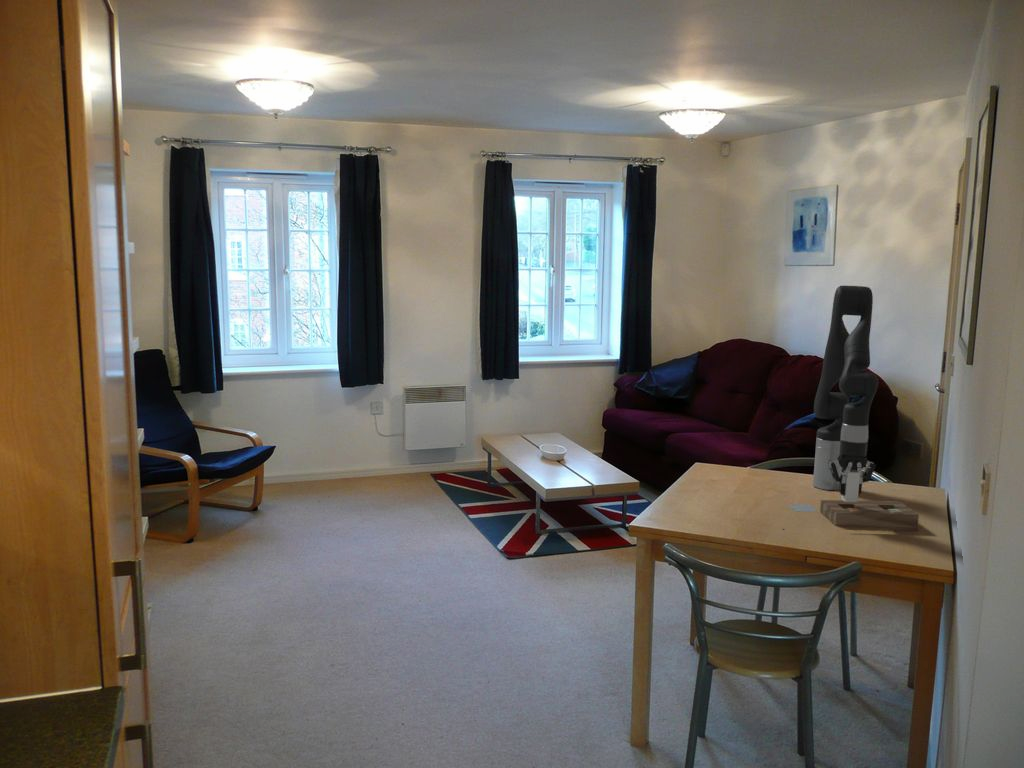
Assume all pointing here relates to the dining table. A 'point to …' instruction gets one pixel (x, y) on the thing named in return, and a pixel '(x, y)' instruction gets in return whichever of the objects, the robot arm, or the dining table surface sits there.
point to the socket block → (870, 514)
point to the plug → (851, 486)
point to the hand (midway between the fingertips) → (849, 494)
